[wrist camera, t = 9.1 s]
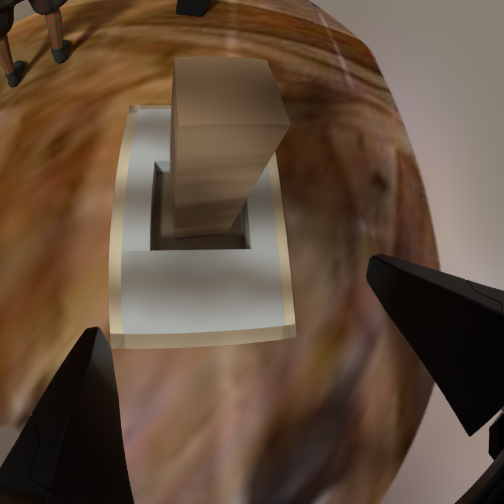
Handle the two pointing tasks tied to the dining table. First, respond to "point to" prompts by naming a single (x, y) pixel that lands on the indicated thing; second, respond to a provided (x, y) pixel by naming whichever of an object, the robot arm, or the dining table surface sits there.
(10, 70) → the toy
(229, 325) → the tray
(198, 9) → the battery
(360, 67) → the dining table surface
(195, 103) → the peg
